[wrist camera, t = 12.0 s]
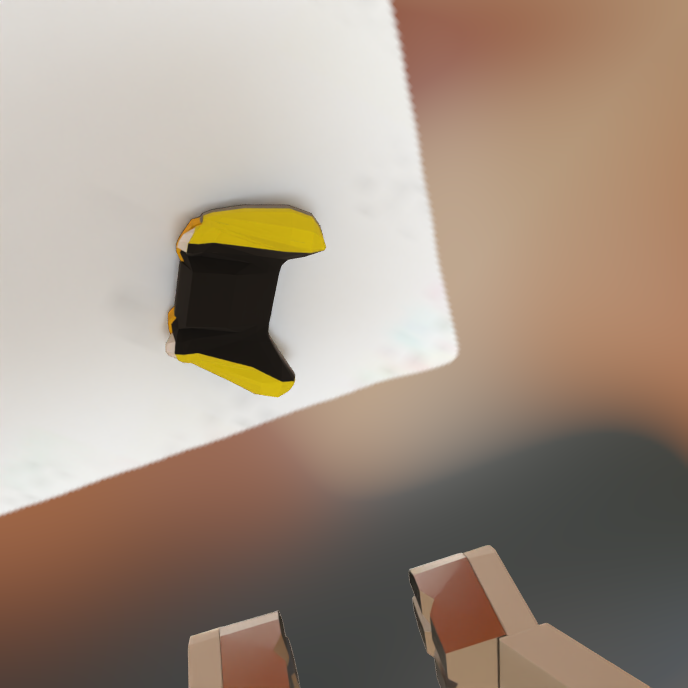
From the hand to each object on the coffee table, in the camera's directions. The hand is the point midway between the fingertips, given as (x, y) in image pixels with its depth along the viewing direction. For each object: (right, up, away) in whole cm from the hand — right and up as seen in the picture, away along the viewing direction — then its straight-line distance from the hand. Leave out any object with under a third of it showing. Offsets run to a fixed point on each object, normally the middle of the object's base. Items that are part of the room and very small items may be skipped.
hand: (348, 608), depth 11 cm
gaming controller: (-8, +9, +37) cm, 39 cm away
